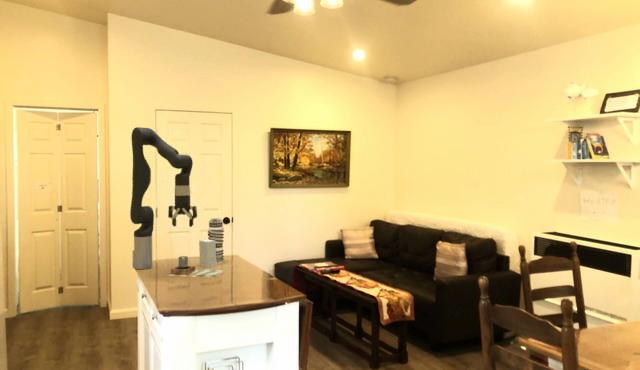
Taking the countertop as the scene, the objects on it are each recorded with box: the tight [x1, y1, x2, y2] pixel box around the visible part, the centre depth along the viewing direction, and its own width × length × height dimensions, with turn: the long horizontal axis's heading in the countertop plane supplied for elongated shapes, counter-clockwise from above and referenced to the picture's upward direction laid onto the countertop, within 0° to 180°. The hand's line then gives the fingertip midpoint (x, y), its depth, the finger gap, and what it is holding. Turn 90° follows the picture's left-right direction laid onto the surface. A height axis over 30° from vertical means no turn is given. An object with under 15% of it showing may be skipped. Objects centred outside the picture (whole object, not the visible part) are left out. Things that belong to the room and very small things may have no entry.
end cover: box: [178, 255, 189, 269], centre depth 242 cm, size 4×4×8 cm
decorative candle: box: [207, 218, 225, 265], centre depth 272 cm, size 9×9×25 cm
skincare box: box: [198, 238, 218, 268], centre depth 259 cm, size 8×6×15 cm
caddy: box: [165, 265, 224, 280], centre depth 241 cm, size 25×14×4 cm, turn 83°
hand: (182, 226), depth 241 cm, fingers open, 8 cm apart
